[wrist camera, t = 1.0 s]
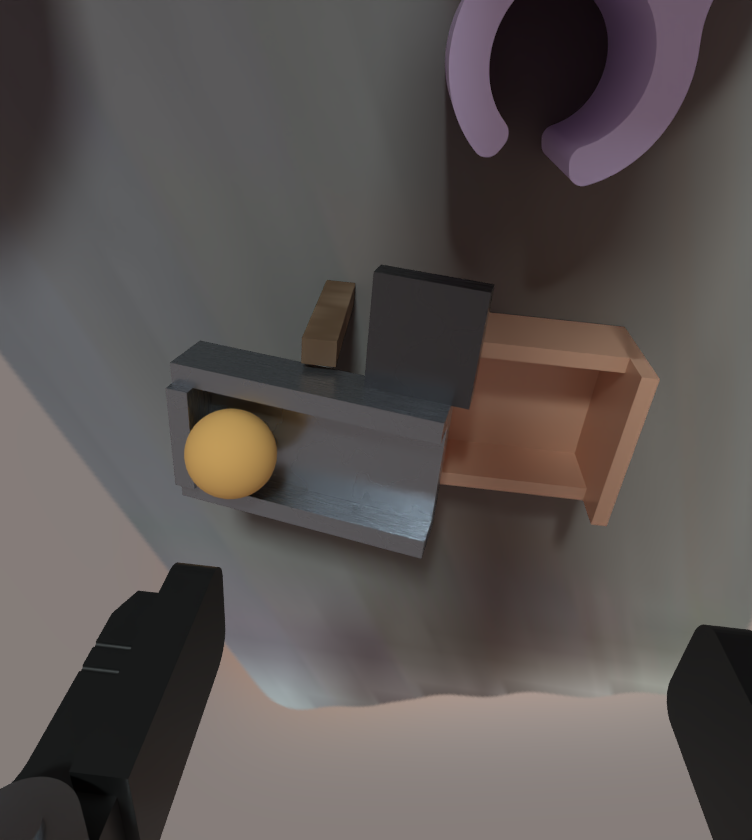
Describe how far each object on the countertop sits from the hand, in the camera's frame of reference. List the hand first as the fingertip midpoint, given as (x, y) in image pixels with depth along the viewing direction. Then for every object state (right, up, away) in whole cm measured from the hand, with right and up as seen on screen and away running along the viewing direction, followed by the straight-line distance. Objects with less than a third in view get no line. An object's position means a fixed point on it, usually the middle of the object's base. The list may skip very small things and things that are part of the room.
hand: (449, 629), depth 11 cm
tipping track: (-3, +5, +18) cm, 19 cm away
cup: (+7, +5, +25) cm, 26 cm away
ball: (-8, +2, +17) cm, 19 cm away
